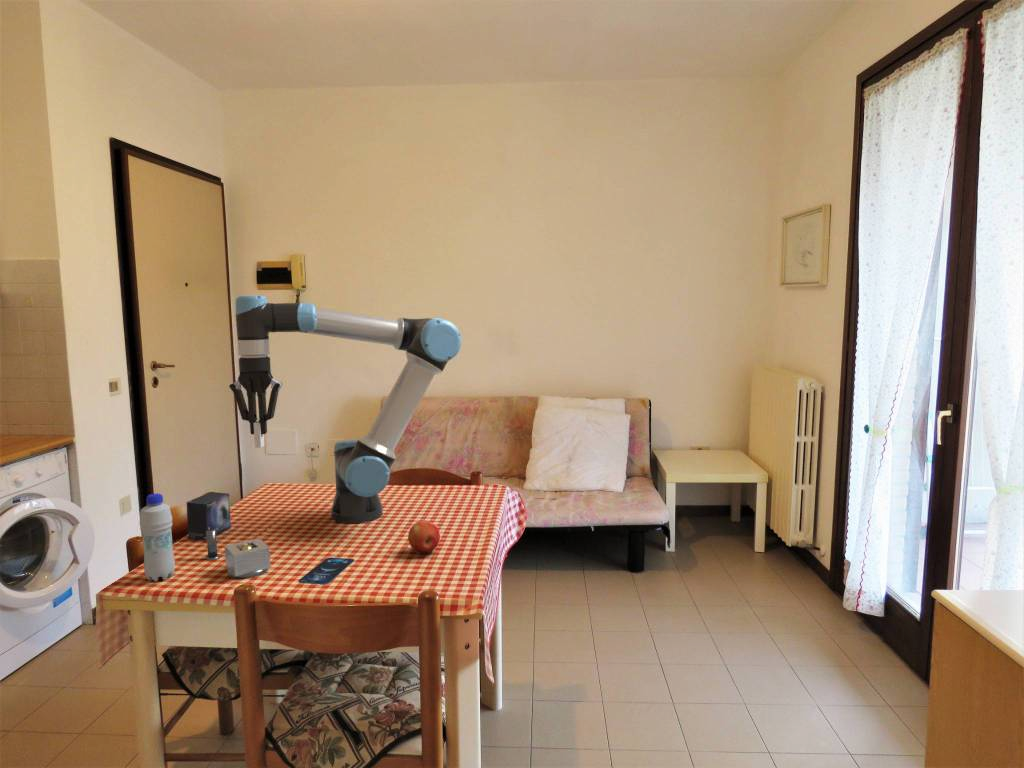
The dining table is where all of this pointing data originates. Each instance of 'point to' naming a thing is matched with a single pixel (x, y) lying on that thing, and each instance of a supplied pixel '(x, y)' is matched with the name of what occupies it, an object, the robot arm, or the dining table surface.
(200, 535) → the small box
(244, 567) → the grey hollow block
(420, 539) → the apple
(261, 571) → the round stand base
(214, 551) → the stand rod
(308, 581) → the smartphone
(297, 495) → the dining table surface
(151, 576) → the bottle
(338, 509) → the robot arm
